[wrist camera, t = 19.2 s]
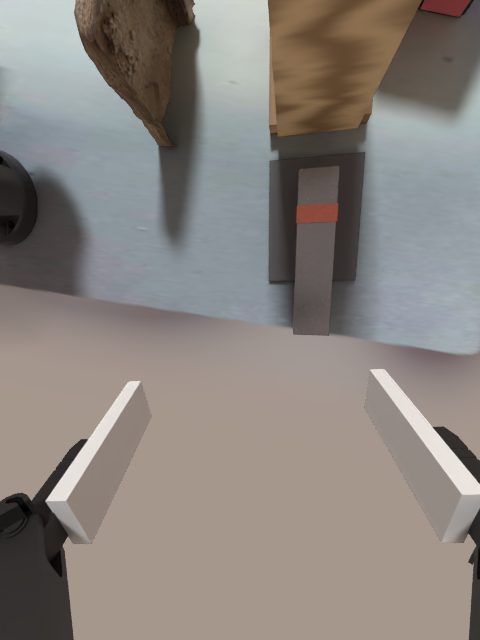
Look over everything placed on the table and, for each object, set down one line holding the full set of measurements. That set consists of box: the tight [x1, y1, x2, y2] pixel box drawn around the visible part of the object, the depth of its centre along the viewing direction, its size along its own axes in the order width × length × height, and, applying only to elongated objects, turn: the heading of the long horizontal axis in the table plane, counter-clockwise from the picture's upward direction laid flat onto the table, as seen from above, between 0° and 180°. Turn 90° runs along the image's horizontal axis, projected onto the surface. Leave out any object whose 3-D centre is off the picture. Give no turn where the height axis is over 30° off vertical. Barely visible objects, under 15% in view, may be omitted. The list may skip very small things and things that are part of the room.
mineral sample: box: [74, 0, 195, 147], centre depth 27 cm, size 17×4×15 cm, turn 166°
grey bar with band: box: [293, 166, 339, 336], centre depth 33 cm, size 20×5×5 cm, turn 0°
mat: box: [269, 152, 365, 281], centre depth 35 cm, size 12×16×1 cm
